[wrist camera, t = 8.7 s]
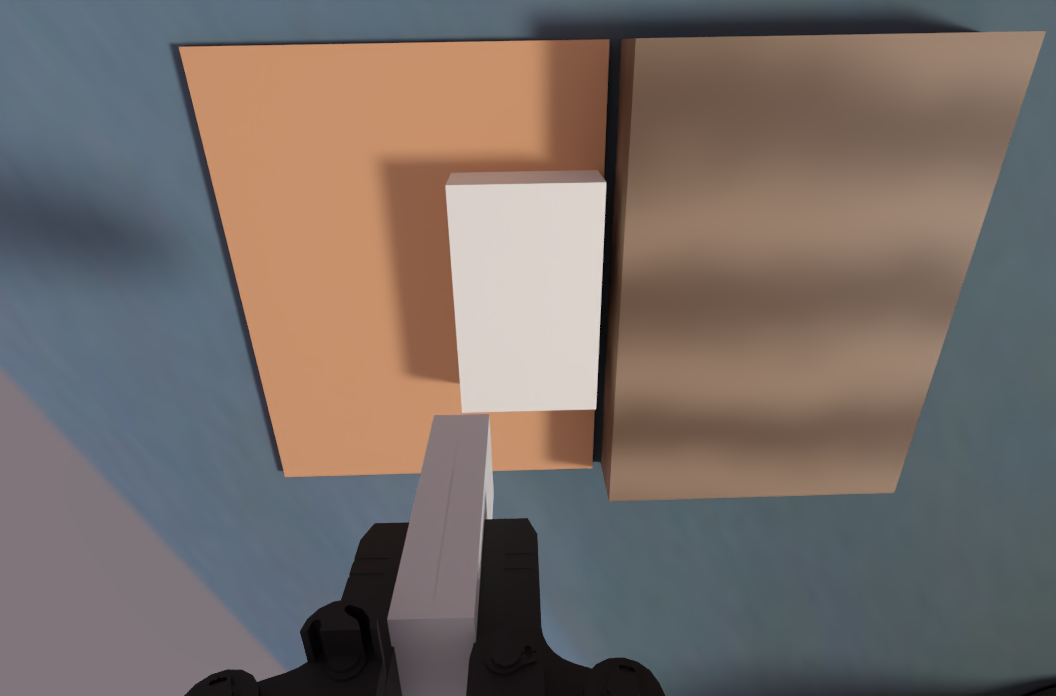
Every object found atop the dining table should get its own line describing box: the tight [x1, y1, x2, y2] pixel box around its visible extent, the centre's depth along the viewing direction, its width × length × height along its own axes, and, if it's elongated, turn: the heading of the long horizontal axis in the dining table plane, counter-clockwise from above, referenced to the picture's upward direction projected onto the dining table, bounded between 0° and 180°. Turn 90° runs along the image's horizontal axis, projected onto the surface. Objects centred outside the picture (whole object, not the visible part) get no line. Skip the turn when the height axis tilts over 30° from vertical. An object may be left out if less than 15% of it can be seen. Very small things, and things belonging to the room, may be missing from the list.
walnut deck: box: [601, 31, 1046, 501], centre depth 26 cm, size 20×14×3 cm
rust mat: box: [179, 39, 610, 477], centre depth 27 cm, size 20×16×1 cm
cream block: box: [445, 170, 606, 413], centre depth 26 cm, size 10×6×2 cm, turn 1°
